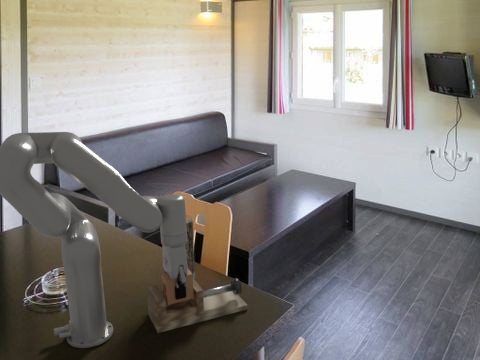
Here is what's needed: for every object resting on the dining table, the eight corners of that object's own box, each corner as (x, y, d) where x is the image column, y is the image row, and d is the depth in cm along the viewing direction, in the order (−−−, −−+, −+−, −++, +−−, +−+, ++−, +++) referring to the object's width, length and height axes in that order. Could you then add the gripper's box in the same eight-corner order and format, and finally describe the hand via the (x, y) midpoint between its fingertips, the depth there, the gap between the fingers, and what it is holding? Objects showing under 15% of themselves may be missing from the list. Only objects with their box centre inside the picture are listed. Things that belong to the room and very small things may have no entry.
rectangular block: (167, 304, 132) (166, 280, 130) (163, 297, 137) (161, 272, 134) (193, 298, 136) (192, 273, 133) (188, 290, 140) (186, 267, 138)
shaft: (195, 308, 137) (194, 293, 135) (189, 300, 141) (189, 286, 140) (241, 296, 143) (241, 282, 142) (235, 289, 147) (234, 275, 146)
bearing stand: (157, 333, 130) (155, 303, 127) (148, 314, 139) (146, 286, 137) (247, 309, 141) (247, 281, 139) (232, 293, 151) (232, 267, 148)
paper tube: (185, 281, 159) (182, 214, 153) (199, 287, 155) (196, 218, 149) (171, 288, 154) (167, 219, 148) (185, 295, 150) (181, 224, 144)
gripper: (153, 229, 137) (157, 284, 142) (170, 250, 122) (174, 310, 127) (177, 225, 140) (181, 279, 145) (196, 245, 125) (199, 304, 130)
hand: (177, 293), depth 136 cm, fingers closed on rectangular block, 5 cm apart
